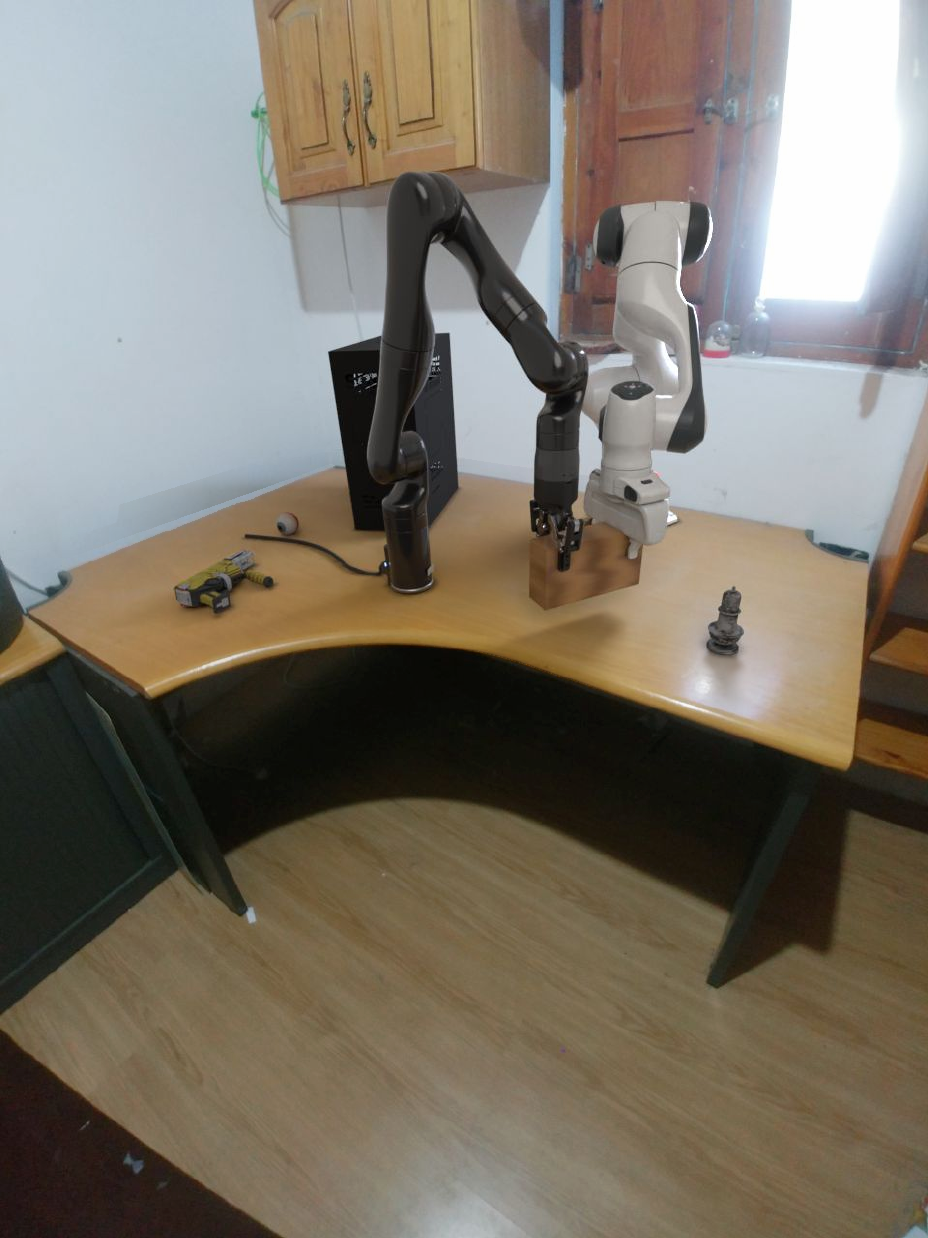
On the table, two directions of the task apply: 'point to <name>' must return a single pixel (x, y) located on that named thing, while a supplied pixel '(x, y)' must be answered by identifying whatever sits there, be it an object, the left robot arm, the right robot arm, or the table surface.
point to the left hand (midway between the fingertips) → (553, 563)
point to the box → (582, 567)
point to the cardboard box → (424, 418)
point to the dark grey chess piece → (726, 625)
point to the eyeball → (287, 523)
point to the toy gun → (218, 582)
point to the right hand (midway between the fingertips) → (618, 550)
